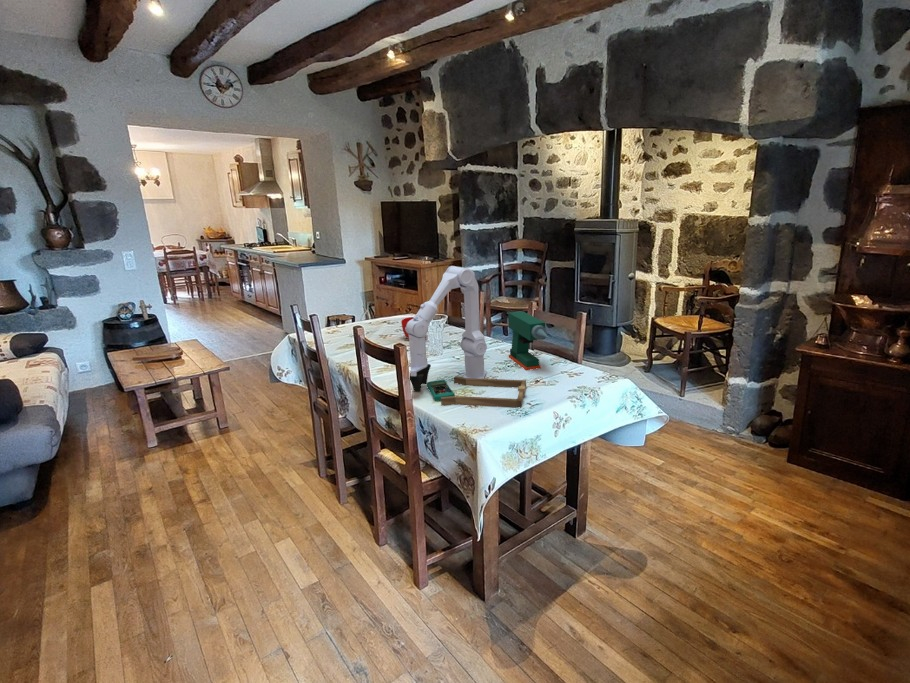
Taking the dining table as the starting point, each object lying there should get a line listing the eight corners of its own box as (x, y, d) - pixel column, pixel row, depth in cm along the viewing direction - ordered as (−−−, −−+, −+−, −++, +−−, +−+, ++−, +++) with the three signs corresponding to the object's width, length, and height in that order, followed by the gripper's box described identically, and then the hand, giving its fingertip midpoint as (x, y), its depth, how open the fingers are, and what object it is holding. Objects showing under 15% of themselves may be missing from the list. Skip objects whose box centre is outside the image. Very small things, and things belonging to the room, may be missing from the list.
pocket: (454, 382, 189) (454, 373, 188) (527, 385, 182) (527, 376, 182) (440, 405, 168) (439, 396, 167) (522, 409, 162) (522, 400, 161)
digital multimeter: (435, 403, 171) (434, 395, 171) (426, 388, 185) (426, 381, 184) (455, 400, 173) (455, 392, 172) (445, 385, 187) (445, 378, 186)
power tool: (557, 379, 187) (558, 328, 181) (540, 381, 185) (541, 330, 179) (523, 355, 216) (523, 310, 211) (508, 357, 214) (507, 312, 209)
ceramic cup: (418, 345, 237) (417, 325, 234) (397, 339, 249) (396, 320, 246) (438, 339, 245) (437, 320, 242) (417, 334, 257) (416, 315, 254)
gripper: (413, 346, 184) (416, 380, 188) (400, 358, 171) (403, 395, 175) (431, 346, 183) (433, 380, 186) (420, 359, 169) (422, 395, 173)
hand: (420, 387), depth 180 cm, fingers open, 7 cm apart
